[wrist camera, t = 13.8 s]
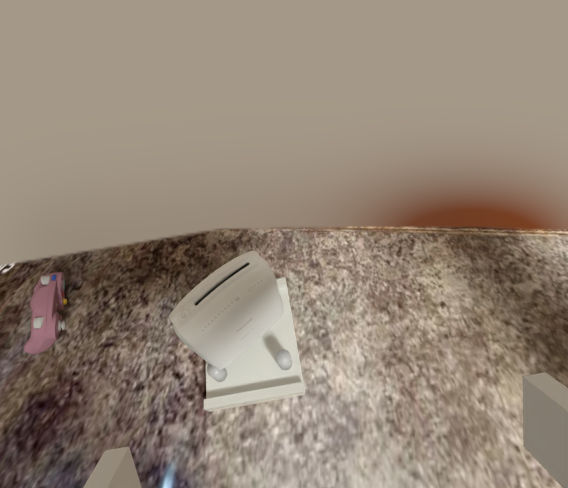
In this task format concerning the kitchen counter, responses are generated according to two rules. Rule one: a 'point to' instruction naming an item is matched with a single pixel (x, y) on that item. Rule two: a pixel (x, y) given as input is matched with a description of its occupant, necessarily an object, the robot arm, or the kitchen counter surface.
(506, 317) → the kitchen counter surface
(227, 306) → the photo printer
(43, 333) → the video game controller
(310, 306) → the kitchen counter surface
